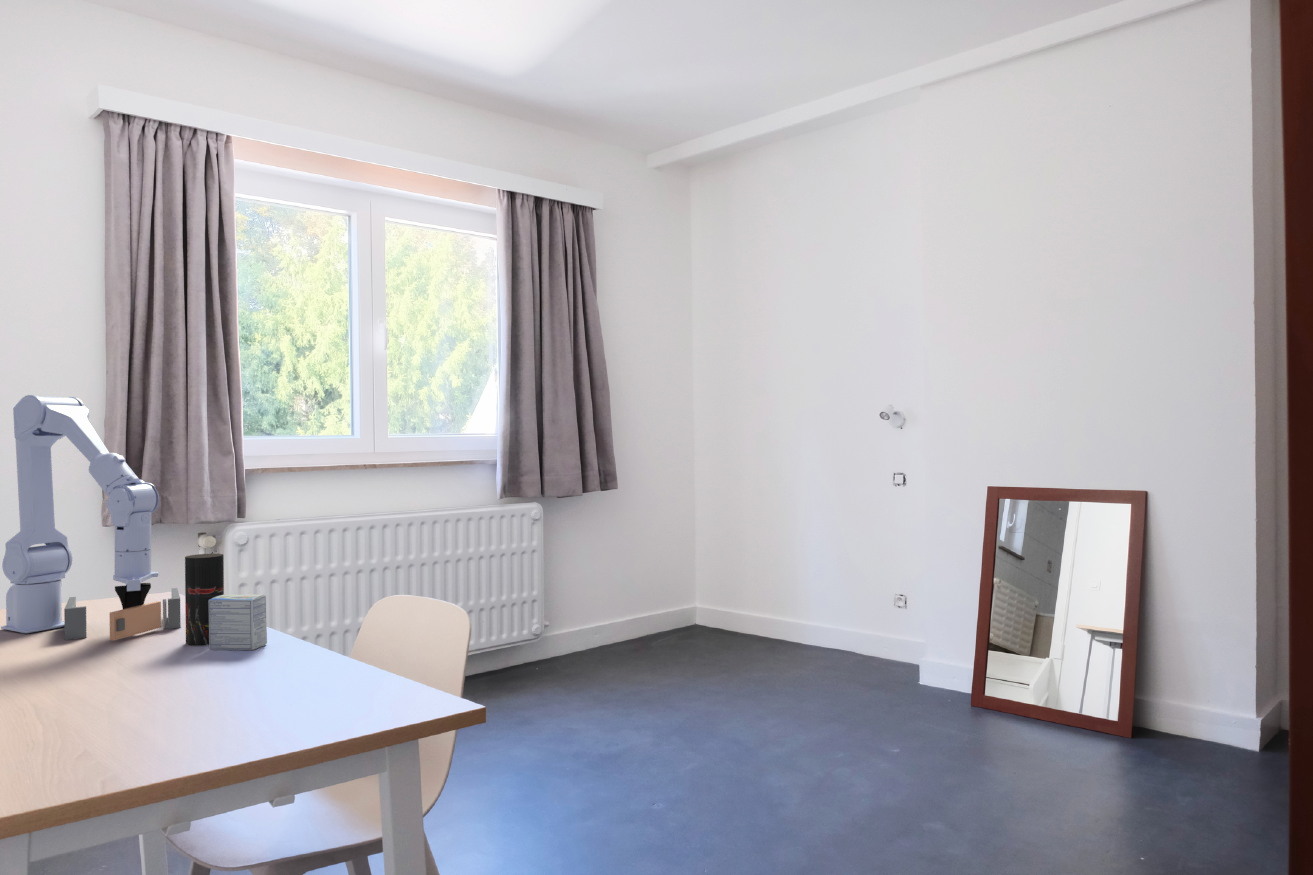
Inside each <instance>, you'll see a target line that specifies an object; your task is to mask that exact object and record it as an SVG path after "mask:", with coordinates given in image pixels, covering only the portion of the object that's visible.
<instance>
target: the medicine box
mask: <svg viewBox="0 0 1313 875" xmlns="http://www.w3.org/2000/svg"><path fill="white" fill-rule="evenodd" d="M267 624H268V623H267V595H266V594H249V593H247V594H243V593H242V594H238V593H237V594H224V595H220V596H217V597H214V598H212V599H209V645H208V647H209V650H210V651H212V650H213V651H215V650H216V651H218V650H220V651H223V650H224V651H226V650H227V651H228V650H229V651H236V650H237V651H238V650H239V651H244V650H245V651H254V650H257V649H259V648H261V647H263V646H266V645H267V644H268V632H267V631H268V627H267Z"/></svg>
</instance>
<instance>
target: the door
mask: <svg viewBox="0 0 1313 875" xmlns="http://www.w3.org/2000/svg"><path fill="white" fill-rule="evenodd" d="M160 628H162V602H161V601H158V600H157V601H156V600H155V601H152V602H148V603H144V604H143V605H139V606H135V607H131V608H127V609H123V608H122V609H119V610H115V611H110V612H109V641H118V640H122V639H124V638H129V637H131V636H135V635H140V634H143V633H147V632H149V631H153V630H154V631H155V630H156V629H160Z"/></svg>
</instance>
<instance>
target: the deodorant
mask: <svg viewBox="0 0 1313 875" xmlns="http://www.w3.org/2000/svg"><path fill="white" fill-rule="evenodd" d="M224 556H225V555H224V553H199V554H190V555H186V556H184V575H185V576H184V591H185V592H184V594H185V595H184V596H185V598H184V599H185V600H184V603H185V607H184V608H185V645H186V646H188V647H189V646H190V647H201V646H202V647H203V646H209V599H212V598H214V597H217V596H220V595H225V586H224V585H225V582H224V581H225V578H224V575H225V573H224V571H225V570H224V569H225V568H224V566H225V565H224V564H225V563H224V561H225V560H224Z"/></svg>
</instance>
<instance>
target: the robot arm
mask: <svg viewBox="0 0 1313 875" xmlns="http://www.w3.org/2000/svg"><path fill="white" fill-rule="evenodd" d="M12 411H13V412H12V413H13V414H12V415H13V430H14V432H13V433H14V439H15V452H16V456H15V458H16V474H17V475H16V476H17V493H18V494H17V496H18V497H17V498H18V511H19V513H18V514H19V531H18V532H17V533H16V534H15V535H14V536H12V537H11V538H10V539H8V541H6V542H5V552H4V557H3V559H2V566H1V567H2V571H3V574H4V576H5V577H6V579H8V581H10V584H12V585H11V586H10V587H8V590H7V592H6V594H5V595H6V596H5V610H6V612H5V614H6V616H5V618H6V620H5V625H1V626H0V629H1V630H6V631H11V632H17V633H21V634H31V633H37V632H40V631H48V630H52V629H59V628H65V624H64V621H63V619H62V618H63V616H62V615H63V613H62V608H63V607H62V603H63V602H62V579H65V578H66V574H67V573H68V572H69V571H70V569H71V567H72V565H73V555H72V552H71V549H70V547H69V543H68V542H69V541H68V537H67V535H65V533H64V534H63V533H62V532H61V531H59V530H58V529H57V528H56V522H55V506H54V487H53V486H54V485H53V467H52V466H53V465H52V449H51V448H52V446H53V445H54V444H55V443H56V442H57V441H58V440H61V439H63V438H64V437H66V439H68V440H69V441H70V443H72V444H73V445H74V447H76V448H77V450H78V451H79V452H80V453H81V454H82V455H83V456H84V458H86V459H87V461H89V466H88V472H89V474H90V476H91V477H92V478H93V479H94V481H95V482H96V483H97V485H98V486H99V487H100V488H101V490H102V491H103V492H104V493H105V494H106V496H107V497H108V499H107V500H106V501H105V502H106V508H107V510H108V512H109V514H110V515H111V516H110V517H111V524H112V526H113V527H114V574H113V576H112V579H113V581H115V582H119V583H122V584H125V585H115V586H114V591H115V593H116V594H117V596H118V599H119V601H120V603H121V607H122V610H123V609H127V608H131V607H135V606H139V605H143V604H145V601H146V598H147V596H148V593H149V592H150V590H151V588H152V585H151V584H152V583H151V582H145V581H147V580H149V579H151V578H155V577H156V578H158V577H159V571H152V513H154V512H156V510H157V509H158V506H159V505H160V495H159V491H158V490H157V489H156V485H154V484H153V483H151V482H146V481H144V480H143V479H140V478H139V477H138V475H136V474H135V472H134V471H133V469H132V468H131V467H130V466H129V464H128V463H127V462H126V458H125V457H124V455H122V454H121V455H120V454H119V453H116V452H110V451H109V450H108V448H107V447H106V445H105V443H104V442H103V441H102V439H101V438H100V436H99V434H98V433H97V431H96V430H95V428H94V426H93V425H92V423H90V421H89V419H90V410H89V409H88V408H87V407H86V406H85V403H84V402H83V401H82V400H81V399H80V398H78V397H76V396H67V397H64V396H45V395H44V396H43V395H36V394H27V395H24V396H22V398H21V399H20V400H18V402H17V404H15V405H14V407H13V409H12ZM42 544H44V545H42ZM35 545H38V546H35Z"/></svg>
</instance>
